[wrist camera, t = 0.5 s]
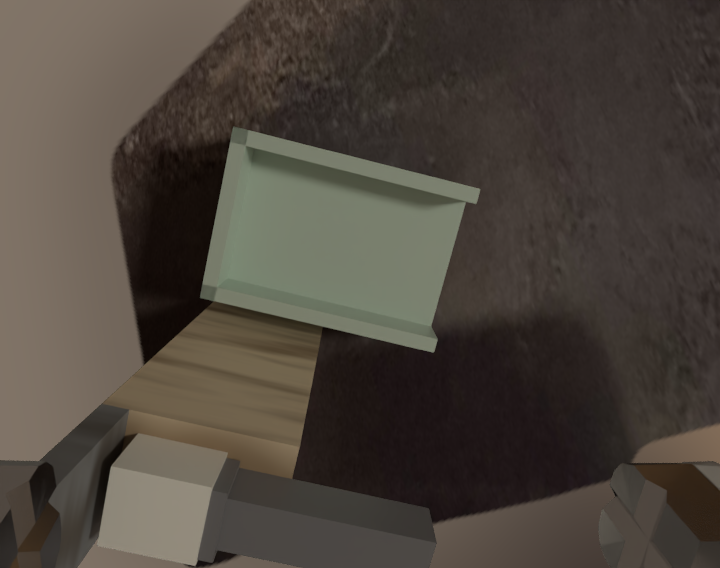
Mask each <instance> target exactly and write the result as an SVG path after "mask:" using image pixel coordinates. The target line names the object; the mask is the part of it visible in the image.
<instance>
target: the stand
mask: <svg viewBox="0 0 720 568" xmlns="http://www.w3.org/2000/svg"><path fill="white" fill-rule="evenodd" d="M322 329H323V326H318V325H314V324H310V323H305V322H301V321H297V320H293V319H288V318H284V317H280V316H275V315H271V314H267V313H263V312H258V311H254V310H250V309H246V308H241V307H237V306H233V305H228V304H224V303H220V302H216V301H214V302H213V303H212V304H211V305H210V306H208V307H207V308H206V309H205V310H204V311H203V312H202V313H201V314H200V315H199V316H197V317H196V318H195V319H194V320H193V321H192V322H191V323H190V324H189V325H188V326H186V327H185V328H184V329H183V330H182V331H181V332H180V333H179V334H178V335H177V336H176V337H174V338H173V339H172V340H171V341H170V342H169V343H168V344H167V345H166V346H165V347H163V348H162V349H161V350H160V351H159V352H158V353H157V354H156V355H155V356H154V357H153V358H151V359H150V360H149V361H148V362H147V363H146V364H145V365H144V366H143V367H142V368H140V369H139V370H138V371H137V372H136V373H135V374H134V375H133V376H132V377H131V378H130V379H129V380H127V381H126V382H125V383H124V384H123V385H122V386H121V387H120V388H119V389H117V390H116V391H115V392H114V393H113V394H112V395H111V396H110V397H109V398H108V399H107V400H105V401H104V402H103V403H102V404H101V405H100V406H99V407H98V408H97V409H95V410H94V411H93V412H92V413H91V414H90V415H89V416H88V417H87V418H86V419H85V420H84V421H82V422H81V423H80V424H79V425H78V426H77V427H76V428H75V429H74V430H72V431H71V432H70V433H69V434H68V435H67V436H66V437H65V438H64V439H63V440H62V441H61V442H59V443H58V444H57V445H56V446H55V447H54V448H53V449H52V450H51V451H49V452H48V453H47V454H46V455H45V456H44V457H43V458H42V459H41V460H40V461H46V462H48V463H49V464H51V465H52V466H53V468H54V474H55V480H56V486H57V487H56V489H55V490H54V492H53V494H52V496H51V497H50V499H49V501H48V502H49V503H50V504H51V505H52V506H53V507H54V508H55V509H56V510H57V511H58V512H59V513H60V519H61V544H60V549H59V553H58V557H57V561H56V565H55V568H77V567H78V566H79V564H80V563H81V562H82V560H83V559H84V557H85V556H86V554H87V553H88V551H89V550H90V549H91V547H92V546H93V544H94V543H95V541H96V540H97V539H98V537H99V532H100V526H101V521H102V515H103V509H104V503H105V498H106V492H107V486H108V481H109V475H110V469H111V466H112V464H113V463H114V462H115V461H116V460H117V458H118V457H119V456H120V455H121V453H122V452H123V451H124V450H125V449H126V447H127V446H128V445H129V444H130V443H131V441H132V440H133V439H134V438H135V437H136V435H137V434H138V433H140V434H145V435H150V436H154V437H159V438H163V439H168V440H173V441H177V442H182V443H186V444H191V445H196V446H200V447H205V448H209V449H214V450H219V451H223V452H228V454H227V458H229V459H234V460H238V461H240V466H239V468H243V469H248V470H253V471H257V472H262V473H267V474H271V475H276V476H281V477H285V478H290V479H292V476H293V472H294V468H295V464H296V460H297V456H298V451H299V447H300V442H301V437H302V432H303V427H304V422H305V416H306V411H307V406H308V401H309V396H310V391H311V385H312V380H313V375H314V370H315V365H316V360H317V354H318V349H319V344H320V339H321V334H322Z"/></svg>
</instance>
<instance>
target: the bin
mask: <svg viewBox="0 0 720 568" xmlns="http://www.w3.org/2000/svg"><path fill="white" fill-rule="evenodd" d="M479 192H480V189H478V188H474V187H470V186H466V185H462V184H458V183H454V182H450V181H446V180H442V179H438V178H434V177H431V176H427V175H423V174H419V173H415V172H411V171H407V170H403V169H399V168H395V167H391V166H387V165H383V164H379V163H375V162H371V161H367V160H364V159H360V158H356V157H352V156H348V155H344V154H340V153H336V152H332V151H328V150H324V149H320V148H316V147H312V146H308V145H304V144H300V143H297V142H293V141H289V140H285V139H281V138H277V137H273V136H269V135H265V134H261V133H257V132H253V131H249V130H245V129H241V128H237V127H233V130H232V135H231V141H230V146H229V151H228V156H227V161H226V166H225V171H224V176H223V181H222V187H221V192H220V197H219V202H218V207H217V212H216V217H215V222H214V227H213V233H212V238H211V243H210V248H209V253H208V258H207V263H206V268H205V273H204V279H203V284H202V289H201V294H200V298H203V299H207V300H211V301H216V302H220V303H224V304H228V305H233V306H237V307H241V308H246V309H250V310H254V311H258V312H263V313H267V314H271V315H275V316H280V317H284V318H288V319H293V320H297V321H301V322H305V323H310V324H314V325H318V326H323V327H327V328H331V329H335V330H340V331H344V332H348V333H352V334H357V335H361V336H365V337H370V338H374V339H378V340H382V341H387V342H391V343H395V344H399V345H404V346H408V347H412V348H417V349H421V350H425V351H429V352H434V350H435V347H436V343H437V340H438V339H437V337H436V335H435V333H434V331H433V329H432V327H431V325H432V321H433V317H434V314H435V310H436V307H437V303H438V300H439V296H440V293H441V289H442V285H443V282H444V278H445V275H446V271H447V268H448V264H449V260H450V257H451V253H452V250H453V246H454V243H455V239H456V236H457V232H458V228H459V225H460V221H461V218H462V214H463V211H464V207H465V204H466V202H470V203H474V204H476V203H477V199H478V196H479Z"/></svg>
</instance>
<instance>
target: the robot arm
mask: <svg viewBox="0 0 720 568" xmlns="http://www.w3.org/2000/svg"><path fill="white" fill-rule="evenodd" d="M610 486H611V488H612V490H613V492H614V494H615V497H614V498H613V499H612V500H611V501H610V502H609V503H608V504H607V505H606V506H605V507H604V508H603V509H602V513H601V517H600V521H599V525H598V529H599V539H600V546H601V549H602V551H603V554H604V557H605V559H606V561H607V563H608V564H609V566H610V568H720V464H719V463H716V462H713V461H708V462H682V463H621V464H620V465H619V466H618V467H617V469H616V470H615V471H614V473H613V476H612V479H611V482H610ZM56 487H57V486H56V480H55V474H54V468H53V466H52V465H51V464H49V463H48V462H46V461H5V460H0V568H55V565H56V561H57V557H58V553H59V549H60V544H61V519H60V513H59V512H58V511H57V510H56V509H55V508H54V507H53V506H52V505H51V504H50V503H49V502H48V501H49V499H50V497H51V496H52V494H53V492H54V490H55V489H56Z"/></svg>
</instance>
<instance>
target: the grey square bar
mask: <svg viewBox="0 0 720 568" xmlns="http://www.w3.org/2000/svg"><path fill="white" fill-rule="evenodd" d="M227 454H228V452H223V451H219V450H214V449H209V448H205V447H200V446H196V445H191V444H186V443H182V442H177V441H173V440H168V439H163V438H159V437H154V436H150V435H145V434H140V433H138V434H137V435H136V437H135V438H134V439H133V440H132V441H131V443H130V444H129V445H128V446H127V447H126V449H125V450H124V451H123V452H122V453H121V455H120V456H119V457H118V458H117V460H116V461H115V462H114V463H113V464H112V466H111V469H110V475H109V481H108V486H107V492H106V498H105V503H104V509H103V515H102V521H101V526H100V532H99V538H98V544H97V546H100V547H105V548H110V549H115V550H120V551H125V552H130V553H135V554H140V555H145V556H149V557H154V558H159V559H164V560H169V561H174V562H179V563H184V564H189V565H193V566H195V565H196V563H197V560H201V561H206V562H211V563H213V560H214V557H215V555H216V552H217V550H220V551H224V552H229V553H234V554H239V555H244V556H249V557H253V558H259V559H263V560H269V561H273V562H278V563H283V564H287V565H293V566H297V567H302V568H429V566H430V563H431V560H432V557H433V553H434V550H435V547H436V538H435V534H434V529H433V525H432V521H431V516H430V512H429V508H424V507H419V506H415V505H410V504H406V503H401V502H396V501H392V500H387V499H382V498H378V497H373V496H368V495H364V494H359V493H355V492H350V491H345V490H341V489H336V488H331V487H327V486H322V485H318V484H313V483H308V482H304V481H299V480H294V479H290V478H285V477H281V476H276V475H271V474H267V473H262V472H257V471H253V470H248V469H243V468H239V466H240V461H238V460H234V459H229V458H227Z"/></svg>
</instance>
